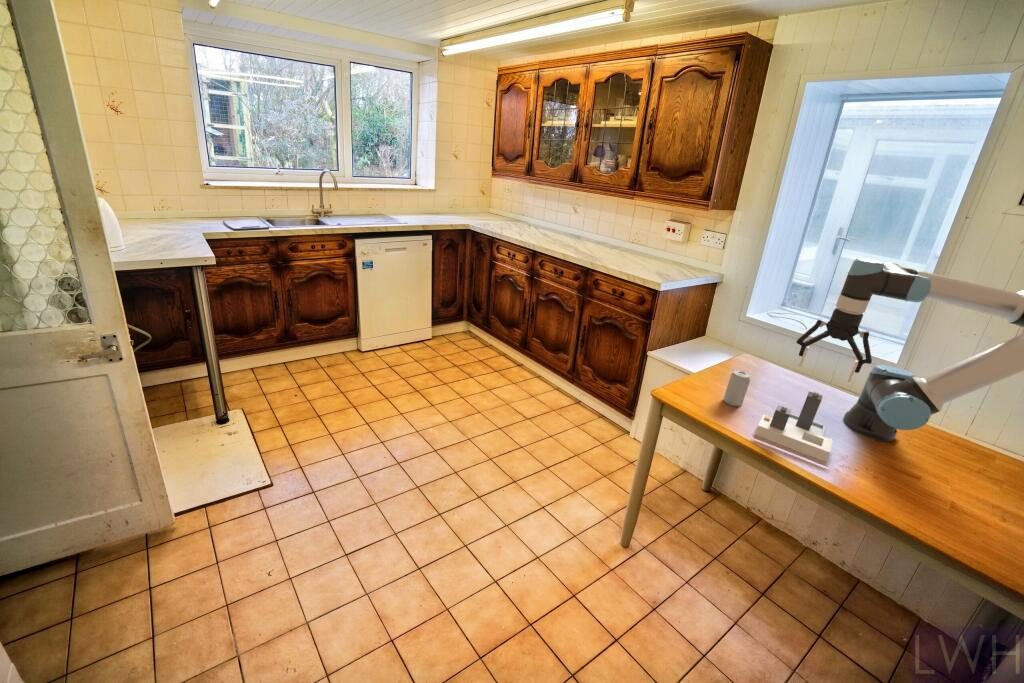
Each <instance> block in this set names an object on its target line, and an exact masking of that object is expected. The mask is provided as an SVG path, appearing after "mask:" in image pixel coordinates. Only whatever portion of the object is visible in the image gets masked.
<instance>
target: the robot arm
mask: <svg viewBox="0 0 1024 683" xmlns="http://www.w3.org/2000/svg"><path fill="white" fill-rule="evenodd" d="M873 295H874V296H877V297H880V296H881V297H884V298H890V299H894V300H900V301H904V302H911V303H912V302H913V303H921V302H923V301H925V299H926V300H930V301H934V302H938V303H943V304H947V305H950V306H955V307H959V308H962V309H966V310H971V311H975V312H978V313H982V314H988V315H990V316H995V317H999V318H1002V320H1003V321H1004V322H1005V323H1008V324H1013V325H1016V326H1018V327H1021V332H1020V334H1019V335H1016V336H1014V337H1012V338H1010V339H1008V340H1005V341H1003V342H1001V343H998V344H996V345H994V346H992V347H990V348H988V349H985V350H983V351H980V352H979V353H976V354H974V355H972V356H970V357H967V358H966V359H963V360H961V361H959V362H956V363H954V364H952V365H949V366H948V367H945V368H942V369H940V370H938V371H936V372H934V373H931V374H930V375H927V376H924V377H918V376H917V375H916V374H914V373H913V372H910V371H908V370H905V369H902V368H899V367H895V366H891V365H885V364H875V365H874V366H873V367H872V369H871V370H870V371H869V373H868V377H867V379H866V381H865V383H864V385H863V388H862V390H861V392H860V395H859V397H858V400H856V403H855V404H854V405H852V407H851V408H850V409H849V410H848V411H846V413H845V414H844V416H843V418H842V421H843V423H844V425H845V426H847V427H848V428H850V429H851V430H853V431H854V432H855V433H858V434H861V435H862V436H865V437H867V438H871V439H874V441H880V442H892V441H894V440H895V439H896V437H897V434H898V430H900V431H913V430H918V429H921V428H923V427H924V426H926V424H928V422H929V420H930V419H931V416H932V415H935V414H937V413H940V412H941V411H942V409H943V407H944V404H946V403H949V402H951V401H953V400H956V399H959V398H960V397H963V396H965V395H968V394H970V393H973V392H976V391H978V390H980V389H983V388H986V387H987V386H990V385H993V384H995V383H997V382H999V381H1002V380H1004V379H1007V378H1009V377H1011V376H1013V375H1016V374H1019V373H1021V372H1023V371H1024V290H1020V291H1017V292H1015V291H1010V290H1007V289H1006V290H1005V289H1003V288H1002V289H1001V288H997V287H994V286H989V285H983V284H980V283H975V282H970V281H968V280H962V279H958V278H953V277H949V276H945V275H940V274H937V273H932V272H927V271H923V270H919V269H913V268H909V267H906V266H903V265H902V266H901V265H899V264H898V263H896V262H895V263H894V262H883V261H880V260H877V259H871V258H864V257H859V258H856V259H854V261H853V262H852V263H851V266H850V268H849V270H848V271H847V276H846V278H845V281H844V283H843V287H842V288H841V292H840V293H839V296H838V299H837V301H836V303H835V306H836V307H835V308H833V311H832V314H831V317H830V318H829V320H828V321H826V320H823V319H822V318H818V319H817V320H816V322H815V324H814V325H813V326H812V327H810V328H809V329H808V330H807V331H805V332H804V334H802V335H801V336H800V337H798V338H797V340H796V344H798V345H800V346H801V347H800V350H799V353H798V356H799V357H801V358H800V361H799V365H798V367H799V368H802V366H803V364H804V361H805V359H806V356H807V353H808V350H809V348H810V346H811V345H813V344H815V343H817V342H819V341H821V340H824V339H825V338H828V337H831V339H834V340H835V339H836V340H838V341H839V340H840V341H842V342H844V341H847V343H848V344H849V346H850V348H851V350H852V352H853V354H854V356H855V358H856V359H855V361H854V364H853V366H852V368H851V370H850V373H849V375H848V377H847V380H846V381H847V382H849V383H851V381H852V379H853V376H854V374H855V373H858V374H859V373H860V372H861V369H862V367H863V365H864V364H869V365H871V364H872V360H873V359H872V353H871V349H870V348H871V347H870V343H869V336H870V330H867V329H866V330H861V329H859V327H860V325H861V323H862V319H863V317H864V313H865V312H866V310H867V308H868V306H869V303H870V300H871V299H872V296H873ZM824 326H825V328H826V330H825V331H823V332H821V333H819V334H817V335H815V336H813V337H812V338H809V337H810V336H811V335H812V334H814V333H815V332H816V331H817V330H818V329H819V328H822V327H824ZM857 335H859V338H861V339H862V344H863V350H864V356H865V357H863V355H862V353H861V351H860V349H859V347H858V345H857V343H856V341H855V338H854V337H855V336H857ZM808 338H809V339H808ZM806 339H808V340H806ZM805 340H806V341H805Z"/></svg>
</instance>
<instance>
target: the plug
mask: <svg viewBox="0 0 1024 683" xmlns="http://www.w3.org/2000/svg"><path fill="white" fill-rule="evenodd" d="M823 397H824V396H823V395H821V394H820V393H819V392H817V391H813V392H812V391H811V390H810V391H808V393H807V396H806V398H805V400H804V404H803V406H802V408H801V410H800V414H799V415H798V416H799V418H798V421H797V423H796V427H799V428H802V429H805V430H807V431H809V429H810V427H811V425H812V422H813V421H814V420H815V417H816V416H817V415H816V414H817V412H818V409H819V407H820V405H821V403H822V399H823Z"/></svg>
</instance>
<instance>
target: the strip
mask: <svg viewBox="0 0 1024 683" xmlns="http://www.w3.org/2000/svg"><path fill="white" fill-rule="evenodd" d="M790 413H791V414H792V409H791V408H790V409H789V408H788V406H785V405H777V406H776V408H775V410H774V413H773V417H772V416H770V415H768V414H763V415H762V417H761V419H760V421H759V423H758V425H757V427H756V430H755V433H754V435H755V436H757V437H760V438H763V439H765V440H767V441H768V440H769V441H770V442H773V443H775V444H779V445H781V446H784V447H786V448H788V449H790V450H791V449H792V450H794V451H797V452H799V453H802V454H804V455H806V456H809V457H813V458H815V459H816V460H820V461H822V462H825V463H827V460H828V458H829V456H830V454H831V451H832V446H833V445H832V444H833V439H832V438H829V437H826V436H824V435H823V436H821V435H818V434H816V433H813V432H810V431H807V430H805V429H802V428H799V427H796V426H794V425H791V424H788V423H787V421H788V418H789V416H790Z"/></svg>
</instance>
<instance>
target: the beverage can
mask: <svg viewBox="0 0 1024 683" xmlns="http://www.w3.org/2000/svg"><path fill="white" fill-rule="evenodd" d="M750 382H751V374H750V373H749V372H746V371H743V370H740V369H736V370H735V369H734V370H733V371H732V373H731V374H730V377H729V379H728V382H727V383H728V384H727V386H726V389H725V393H724V395H723V401H724V402H725V404H726V405H729V406H732V407H735V408H736V407H740V406H742V405H743V403H744V400H745V397H746V395H747V391H748V388H749V385H750Z"/></svg>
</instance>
